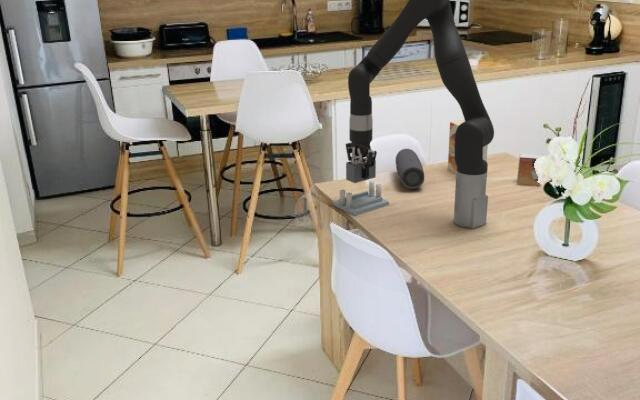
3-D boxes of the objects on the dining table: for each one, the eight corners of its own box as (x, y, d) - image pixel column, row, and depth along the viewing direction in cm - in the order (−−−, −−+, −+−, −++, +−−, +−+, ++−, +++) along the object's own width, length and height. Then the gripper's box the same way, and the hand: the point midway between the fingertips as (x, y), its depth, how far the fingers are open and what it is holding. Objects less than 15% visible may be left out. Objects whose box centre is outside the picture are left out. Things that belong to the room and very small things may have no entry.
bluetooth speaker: (425, 192, 229) (426, 165, 226) (399, 192, 230) (400, 165, 226) (418, 171, 251) (418, 146, 247) (394, 171, 251) (394, 147, 247)
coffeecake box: (446, 170, 251) (449, 121, 244) (461, 167, 253) (464, 119, 246) (470, 181, 238) (473, 130, 231) (486, 178, 241) (489, 127, 234)
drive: (375, 177, 217) (375, 160, 214) (354, 183, 212) (354, 165, 210) (367, 173, 220) (367, 156, 218) (346, 179, 215) (346, 162, 213)
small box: (516, 184, 234) (519, 157, 230) (517, 179, 239) (519, 152, 235) (540, 186, 231) (542, 158, 228) (539, 181, 236) (542, 154, 233)
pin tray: (388, 204, 219) (389, 187, 216) (354, 215, 211) (354, 197, 208) (366, 195, 228) (366, 178, 225) (332, 205, 220) (332, 187, 217)
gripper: (384, 129, 206) (383, 179, 212) (356, 120, 217) (356, 168, 223) (365, 133, 202) (365, 184, 208) (338, 124, 213) (338, 173, 219)
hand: (360, 176), depth 216 cm, fingers closed on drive, 4 cm apart
